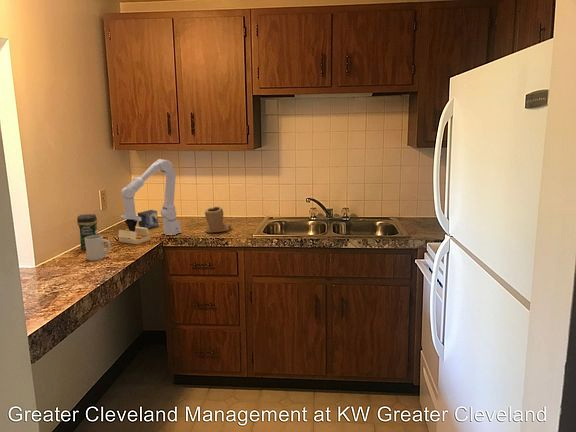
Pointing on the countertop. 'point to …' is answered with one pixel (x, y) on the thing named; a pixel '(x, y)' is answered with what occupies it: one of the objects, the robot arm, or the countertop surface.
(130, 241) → the cream shallow tray
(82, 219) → the coffee jar
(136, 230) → the right flap
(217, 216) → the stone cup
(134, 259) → the countertop surface
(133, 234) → the left flap
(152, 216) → the small box
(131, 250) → the countertop surface
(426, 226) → the countertop surface
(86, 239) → the mug
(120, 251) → the countertop surface
